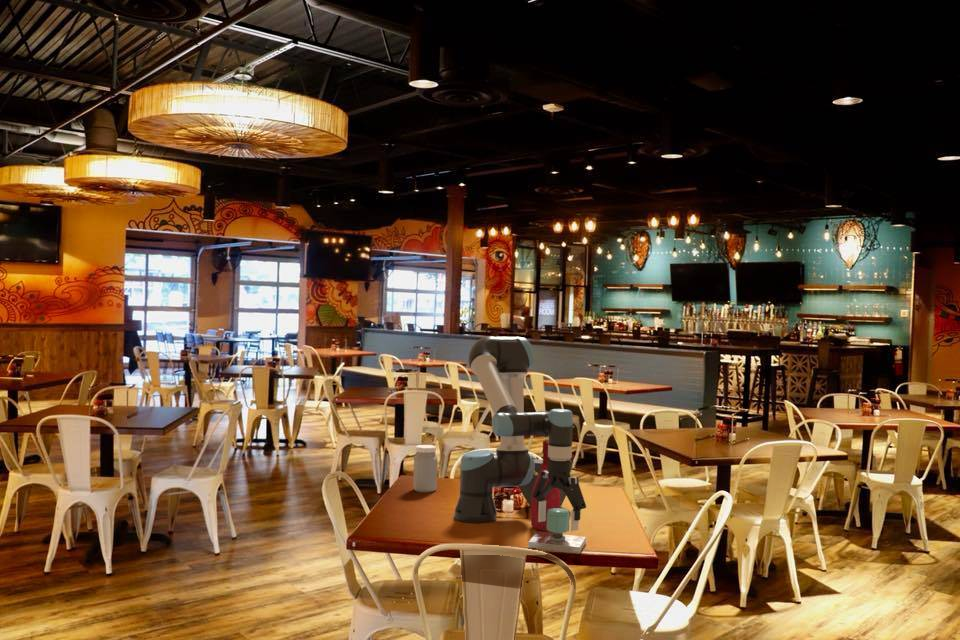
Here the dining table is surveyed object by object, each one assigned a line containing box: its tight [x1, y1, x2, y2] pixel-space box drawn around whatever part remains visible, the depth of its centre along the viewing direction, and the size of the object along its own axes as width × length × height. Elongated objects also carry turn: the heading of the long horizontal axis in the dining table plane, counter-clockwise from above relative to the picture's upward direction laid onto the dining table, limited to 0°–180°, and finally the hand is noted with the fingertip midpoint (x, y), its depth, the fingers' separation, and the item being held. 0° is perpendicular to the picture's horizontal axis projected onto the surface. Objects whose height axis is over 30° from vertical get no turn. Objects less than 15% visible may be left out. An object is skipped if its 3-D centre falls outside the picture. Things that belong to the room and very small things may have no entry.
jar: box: [412, 444, 438, 493], centre depth 322 cm, size 10×10×18 cm
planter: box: [517, 458, 571, 508], centre depth 298 cm, size 17×8×21 cm
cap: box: [547, 507, 571, 534], centre depth 249 cm, size 7×7×6 cm
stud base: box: [528, 531, 587, 554], centre depth 249 cm, size 16×12×10 cm
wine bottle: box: [530, 439, 561, 532], centre depth 269 cm, size 10×10×30 cm
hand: (557, 525), depth 249 cm, fingers open, 13 cm apart
